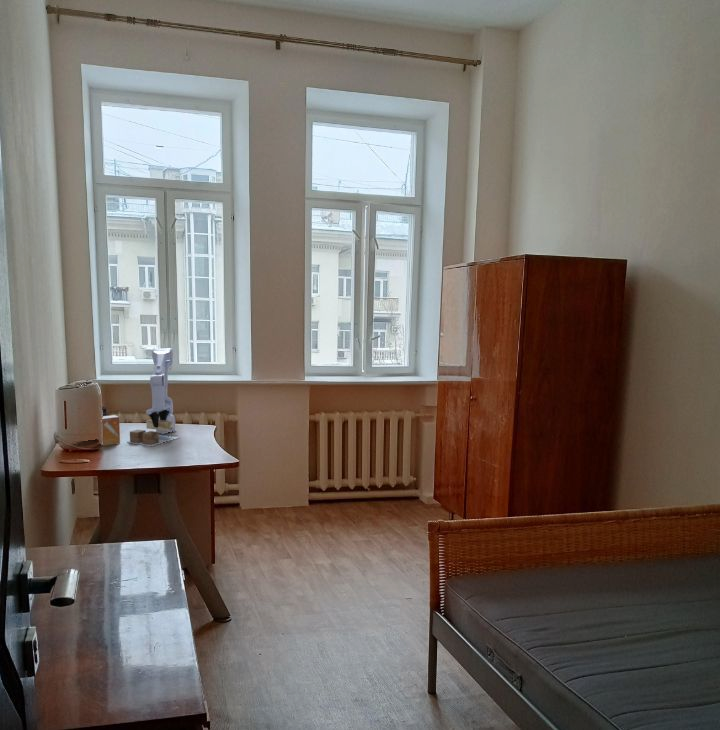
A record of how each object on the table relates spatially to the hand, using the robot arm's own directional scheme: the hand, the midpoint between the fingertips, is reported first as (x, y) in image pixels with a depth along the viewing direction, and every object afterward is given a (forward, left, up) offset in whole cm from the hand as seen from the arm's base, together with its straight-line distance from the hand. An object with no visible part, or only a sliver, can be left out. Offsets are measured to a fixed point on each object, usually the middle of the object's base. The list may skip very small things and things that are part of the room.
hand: (159, 426), depth 277 cm
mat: (+4, 0, -6) cm, 7 cm away
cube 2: (+10, +4, -6) cm, 12 cm away
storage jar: (+12, -29, -6) cm, 32 cm away
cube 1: (+10, -4, -6) cm, 12 cm away
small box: (+18, -14, -6) cm, 24 cm away
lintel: (0, 0, -1) cm, 1 cm away
